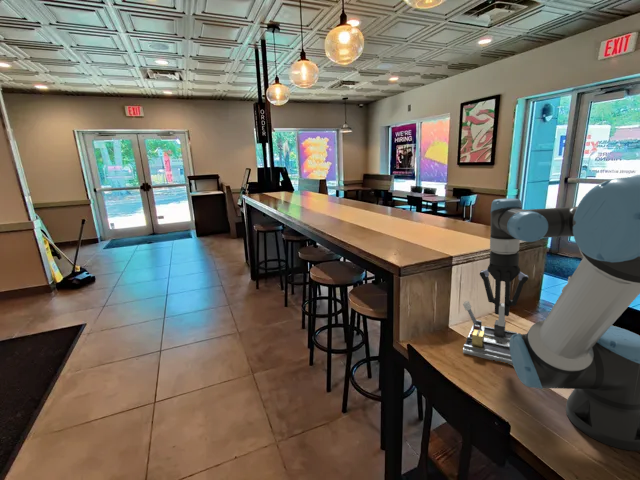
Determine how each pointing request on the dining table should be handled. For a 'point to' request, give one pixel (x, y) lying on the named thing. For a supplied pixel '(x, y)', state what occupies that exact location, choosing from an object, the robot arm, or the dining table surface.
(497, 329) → the slider black
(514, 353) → the robot arm
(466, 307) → the lever
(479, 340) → the slider brass
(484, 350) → the panel
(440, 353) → the dining table surface
